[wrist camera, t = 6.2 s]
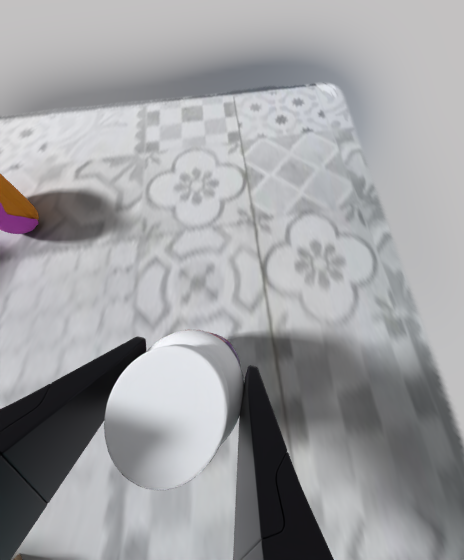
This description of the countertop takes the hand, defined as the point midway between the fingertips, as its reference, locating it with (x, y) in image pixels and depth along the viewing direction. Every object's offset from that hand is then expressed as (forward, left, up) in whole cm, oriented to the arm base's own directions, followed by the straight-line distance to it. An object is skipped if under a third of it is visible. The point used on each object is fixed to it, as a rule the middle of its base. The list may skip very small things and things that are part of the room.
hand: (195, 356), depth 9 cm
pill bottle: (-1, +1, -7) cm, 7 cm away
